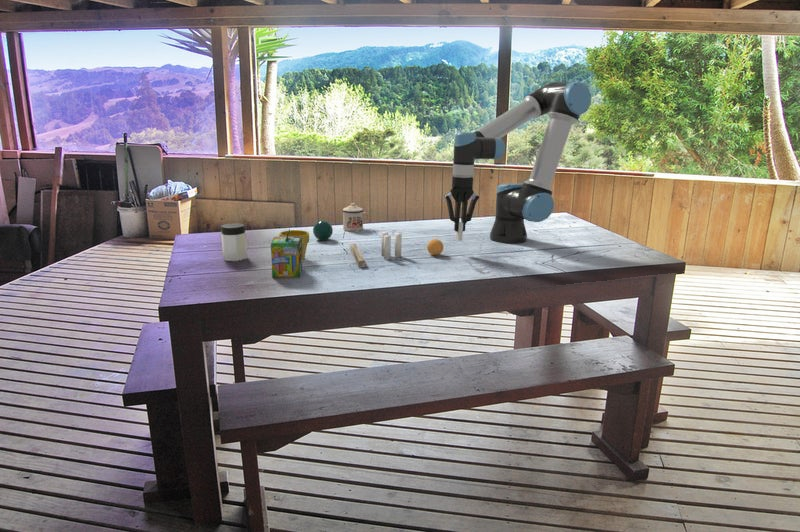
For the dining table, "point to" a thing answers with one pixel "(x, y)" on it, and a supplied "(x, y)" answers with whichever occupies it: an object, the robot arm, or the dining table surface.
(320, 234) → the sphere
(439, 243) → the ball
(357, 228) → the teacup with lid
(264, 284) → the dining table surface
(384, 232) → the pin
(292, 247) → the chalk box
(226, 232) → the jar
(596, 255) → the dining table surface
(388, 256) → the pin
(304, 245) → the plant pot
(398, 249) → the front pin
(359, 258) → the brown wooden bar
